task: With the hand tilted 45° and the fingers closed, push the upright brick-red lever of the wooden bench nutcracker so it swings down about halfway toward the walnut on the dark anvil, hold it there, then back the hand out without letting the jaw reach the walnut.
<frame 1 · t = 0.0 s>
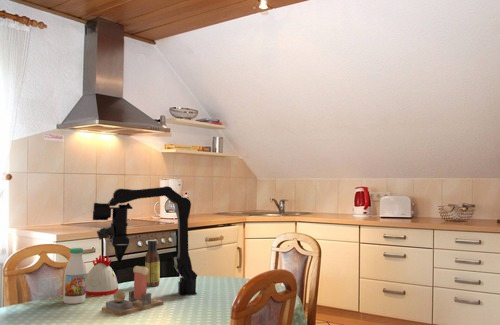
hand: (118, 259, 184), 15 cm above the table, tool pointing down, fingers open, 9 cm apart
milk bottle: (74, 302, 175), on the table
walnut: (118, 311, 164), resting on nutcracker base
sauce bottle: (151, 285, 206), on the table
white and red dome: (100, 292, 192), on the table
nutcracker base: (139, 305, 172), on the table
lever: (140, 283, 172), point 8 cm above the table, hinge at 0.0°
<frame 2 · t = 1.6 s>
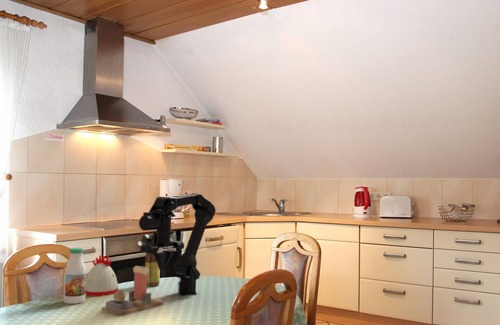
hand: (162, 269, 181), 12 cm above the table, tool pointing down, fingers closed
nothing on the table moved.
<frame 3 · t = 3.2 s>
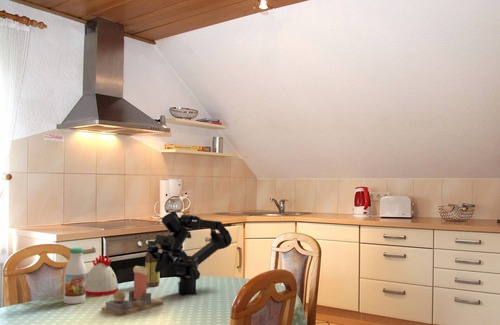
hand: (156, 272, 179), 11 cm above the table, tool tilted 45°, fingers closed
nothing on the table moved.
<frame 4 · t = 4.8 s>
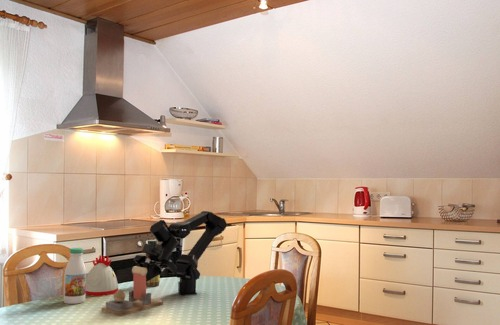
hand: (142, 282, 173), 8 cm above the table, tool tilted 45°, fingers closed, pressing on lever
lever: (139, 283, 172), point 8 cm above the table, hinge at 3.5°, touching gripper
everything else where it was.
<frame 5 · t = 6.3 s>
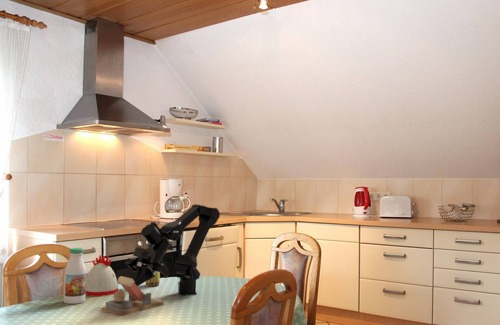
hand: (134, 286, 170), 8 cm above the table, tool tilted 45°, fingers closed, pressing on lever
lever: (132, 289, 169), point 7 cm above the table, hinge at 44.5°, touching gripper
everything else where it was.
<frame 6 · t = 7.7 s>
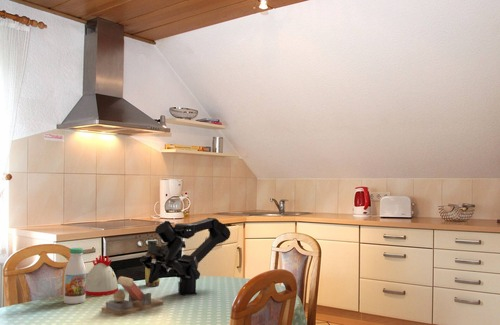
hand: (149, 282, 176), 8 cm above the table, tool tilted 45°, fingers closed
lever: (132, 289, 169), point 7 cm above the table, hinge at 44.8°
everything else where it was.
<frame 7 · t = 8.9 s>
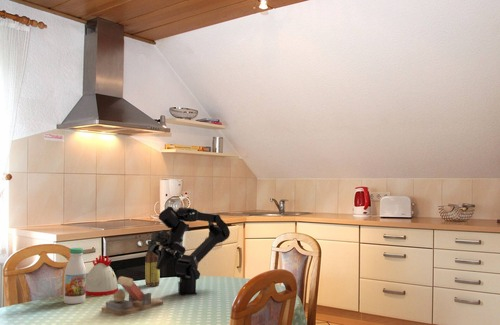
hand: (157, 269, 179), 12 cm above the table, tool tilted 35°, fingers closed
nothing on the table moved.
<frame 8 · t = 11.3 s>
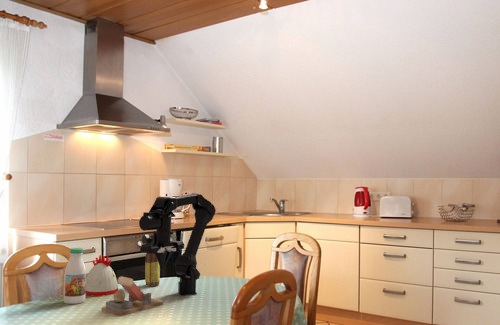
hand: (162, 269, 181), 12 cm above the table, tool pointing down, fingers closed
nothing on the table moved.
at the end: lever at +45° (first picture: +0°); lever touching nothing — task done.
